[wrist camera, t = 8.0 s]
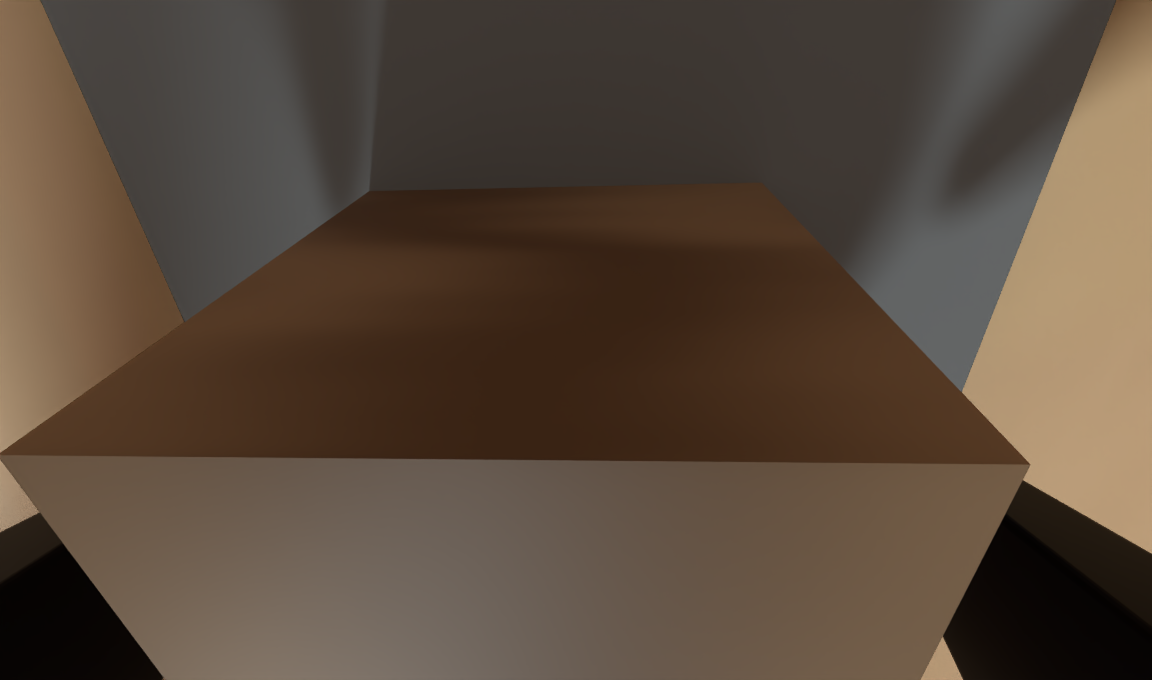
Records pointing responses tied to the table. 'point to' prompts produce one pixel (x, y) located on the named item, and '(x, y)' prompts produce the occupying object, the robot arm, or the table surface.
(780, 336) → the walnut cube
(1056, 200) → the table surface
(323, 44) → the slate mat
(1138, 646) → the robot arm
